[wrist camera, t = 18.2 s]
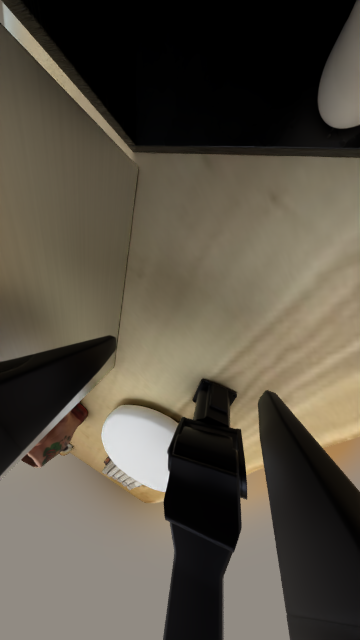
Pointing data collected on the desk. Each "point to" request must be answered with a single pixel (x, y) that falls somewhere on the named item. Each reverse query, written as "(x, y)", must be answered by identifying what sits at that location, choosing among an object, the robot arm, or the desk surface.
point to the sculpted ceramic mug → (56, 438)
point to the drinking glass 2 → (342, 77)
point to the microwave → (200, 70)
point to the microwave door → (57, 219)
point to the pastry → (66, 450)
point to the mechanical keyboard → (119, 474)
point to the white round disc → (140, 443)
